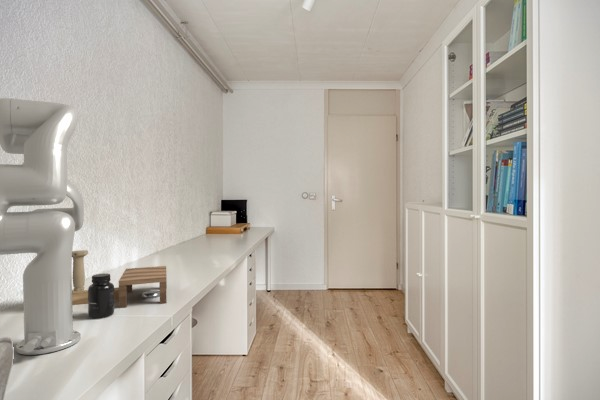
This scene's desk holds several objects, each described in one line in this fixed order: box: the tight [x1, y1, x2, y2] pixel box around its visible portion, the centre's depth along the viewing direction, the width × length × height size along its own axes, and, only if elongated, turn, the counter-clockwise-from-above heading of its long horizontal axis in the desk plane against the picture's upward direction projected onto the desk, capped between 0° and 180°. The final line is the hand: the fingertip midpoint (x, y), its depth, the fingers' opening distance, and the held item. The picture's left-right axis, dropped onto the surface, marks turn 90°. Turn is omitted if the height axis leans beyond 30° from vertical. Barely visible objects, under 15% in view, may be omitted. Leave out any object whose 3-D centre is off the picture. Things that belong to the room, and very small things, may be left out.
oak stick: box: [72, 286, 127, 306], centre depth 122 cm, size 2×24×4 cm, turn 110°
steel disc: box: [141, 290, 160, 300], centre depth 129 cm, size 6×6×2 cm
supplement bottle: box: [87, 273, 115, 319], centre depth 109 cm, size 7×7×12 cm
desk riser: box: [118, 265, 168, 309], centre depth 128 cm, size 22×14×8 cm, turn 20°
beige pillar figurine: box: [72, 249, 89, 291], centre depth 138 cm, size 5×6×15 cm
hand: (53, 303), depth 119 cm, fingers closed on oak stick, 2 cm apart
